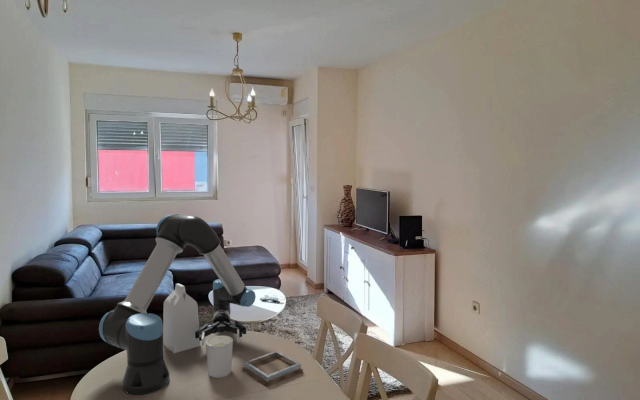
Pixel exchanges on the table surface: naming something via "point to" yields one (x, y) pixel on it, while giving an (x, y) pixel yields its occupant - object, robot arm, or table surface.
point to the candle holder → (219, 356)
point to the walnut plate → (272, 370)
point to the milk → (180, 321)
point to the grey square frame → (294, 367)
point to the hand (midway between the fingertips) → (220, 340)
